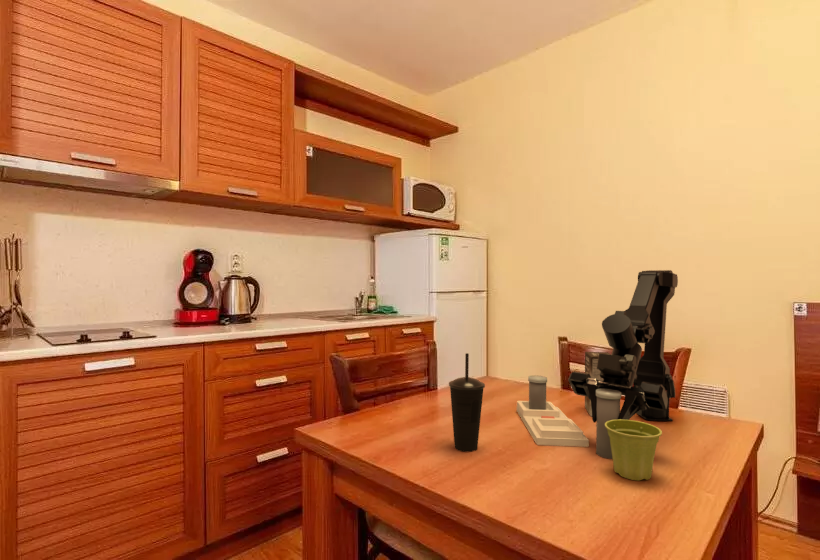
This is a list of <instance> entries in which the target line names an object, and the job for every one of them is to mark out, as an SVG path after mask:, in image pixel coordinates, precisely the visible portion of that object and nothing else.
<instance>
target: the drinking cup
mask: <svg viewBox="0 0 820 560" xmlns="http://www.w3.org/2000/svg"><path fill="white" fill-rule="evenodd" d="M469 354H470V353H467V352H466V353H465V356H464V357H465V367H464V368H465V371H464V372H465V374H464V376H463V377H462V376H461V377H458V378H455V379H453V380H450V381H448V386H449V388H450V389H449V390H450V392H449V393H450V401H451V402H450V403H451V404H450V405H451V416H452V417H451V418H452V419H451V420H452V428H453V429H452V430H453V442H454V449H456V450H457V451H459V452H465V453H466V452H467V453H469V452H475V451H477V450H478V446H479V437H480V436H479V435H480V426H481V425H480V424H481V416H482V415H481V414H482V405H483V395H484V389H485V387H486V384H485V382H483V381H480V380H479V379H477V378H474V377H469V366H470V365H469V364H470V363H469V361H470V359H469V358H470V357H469V356H470V355H469Z"/></svg>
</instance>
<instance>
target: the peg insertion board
mask: <svg viewBox="0 0 820 560" xmlns="http://www.w3.org/2000/svg"><path fill="white" fill-rule="evenodd" d="M527 381H528V400H517V401H516V413H517V412H518V413H517V414H518V416H519V417H521V418H520V419H521V421H522V422H523V424H524V426H525V428H526V429H527V431H528V432H529V434H530V436H531V437H532V439H533V441H534V442H535V444H536V445H537V446H553V447H557V446H558V447H559V446H560V447H583V448H584V447H585V448H589V447H590V445H589V444H590V440H589V438H587V436H586V435H585V434H584V431H583V430H582V429H581V427H579V426H578V425H577V424H576V423H575V421H574V420H573V419H571V418H569V417H567V415H566V414H565V413H564V412H563V411H562V410H561V409H560V408H559V407H558V406H555V405H554V404H553V403H552V401H547V384H548V377H547V376H543V375H536V374H535V375H528V379H527Z"/></svg>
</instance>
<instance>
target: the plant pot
mask: <svg viewBox="0 0 820 560" xmlns="http://www.w3.org/2000/svg"><path fill="white" fill-rule="evenodd" d="M605 427H606V429H607V431H608V435H609V437H610V444H611V450H612V458H613V459H612V464H613V470H614V472H615V473H617V474H619V476H620V477H622V478H624V479H628V480H632V481H635V482H636V481H642V480H646V481H648V480H650V479H651V478H652V473H653V466H654V461H655V454H656V450H657V444H658V443H659V442H660V437H661V436H662V434H663V431H662V429H661V428H659V427H657V426H656V425H653V424H650V423H648V422H643V421H639V420H632V419H631V420H630V419H629V420H623V419H618V420H610V421H607V422H606V423H605Z"/></svg>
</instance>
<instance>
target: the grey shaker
mask: <svg viewBox="0 0 820 560" xmlns="http://www.w3.org/2000/svg"><path fill="white" fill-rule="evenodd" d="M596 396H597V421H596V423H595V424H596V432H595V433H596V436H595V437H596V439H595V440H596V443H595V447H596V448H595V449H596V450H595V452H596V453H595V454H596V455H598V457H600V458H603V459H609V460H613V458H612V450H611V444H610V437H609V435H608V431H607V429H606V427H605V423H606V422H607V421H610V420H618V417H619V414H620V411H621V399H622V395H621V392H620V391H617V390H613V389H596Z"/></svg>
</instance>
